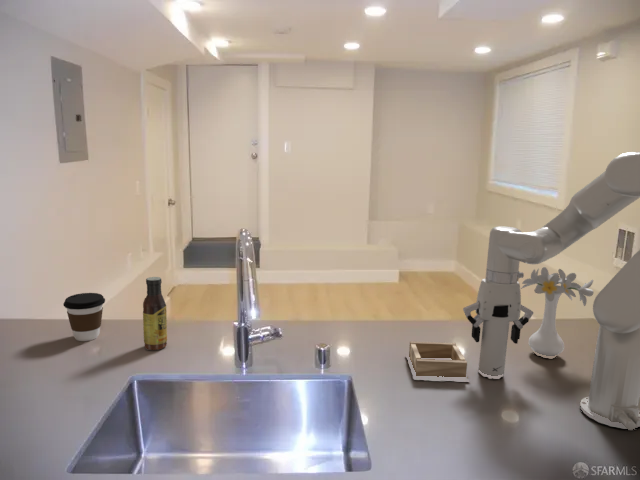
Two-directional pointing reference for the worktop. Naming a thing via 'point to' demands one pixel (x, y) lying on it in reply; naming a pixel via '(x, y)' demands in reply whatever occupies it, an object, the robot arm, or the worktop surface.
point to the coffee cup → (85, 315)
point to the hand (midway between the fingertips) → (494, 340)
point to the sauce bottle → (154, 316)
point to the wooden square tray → (437, 367)
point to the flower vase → (553, 307)
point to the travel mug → (494, 342)
